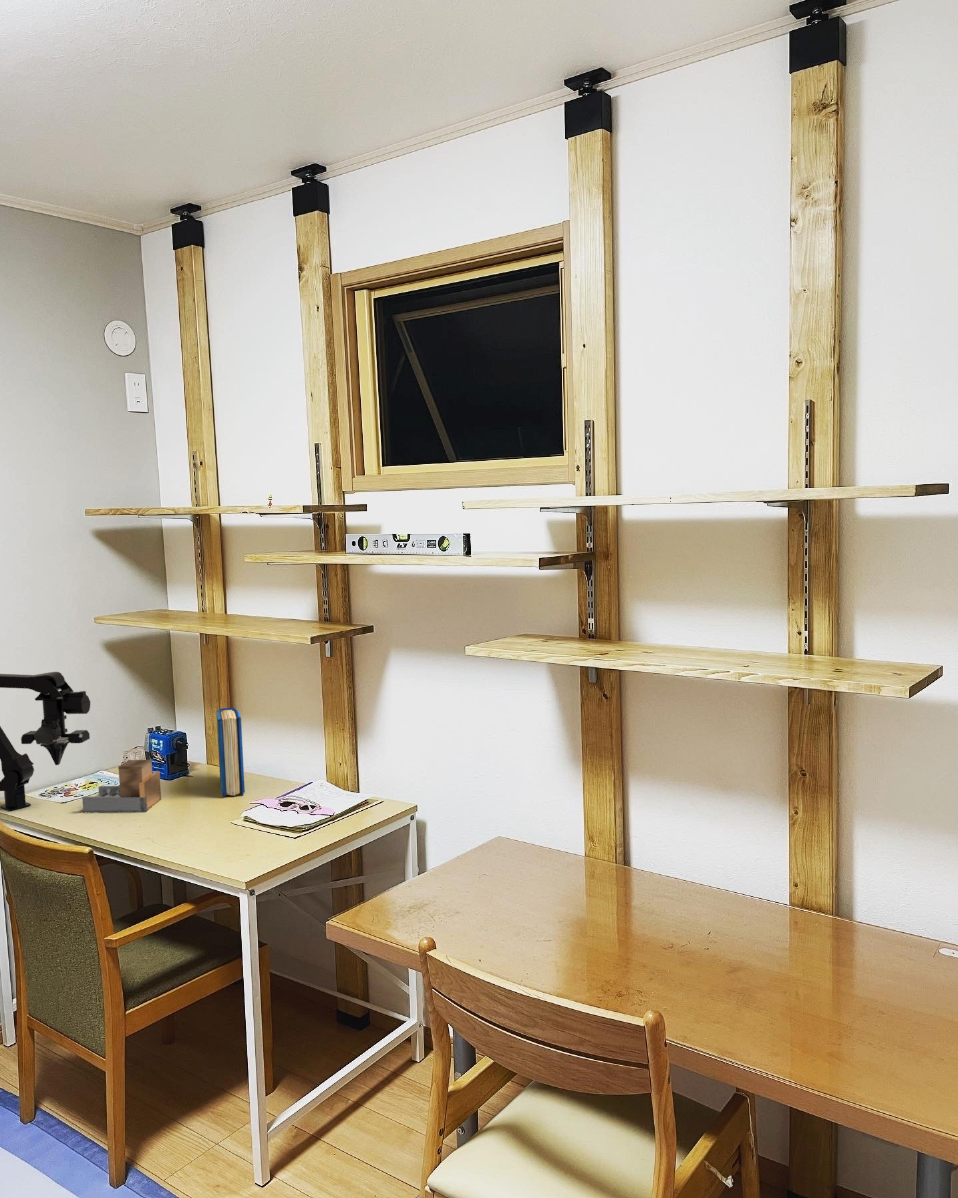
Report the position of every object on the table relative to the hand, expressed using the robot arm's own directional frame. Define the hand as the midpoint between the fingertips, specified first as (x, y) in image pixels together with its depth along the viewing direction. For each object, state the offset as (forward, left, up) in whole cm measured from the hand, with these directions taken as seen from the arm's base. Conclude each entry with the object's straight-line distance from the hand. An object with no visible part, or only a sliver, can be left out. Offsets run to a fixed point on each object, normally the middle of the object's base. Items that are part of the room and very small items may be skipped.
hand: (57, 764), depth 290 cm
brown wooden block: (+20, +14, -10) cm, 26 cm away
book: (+28, +42, -13) cm, 52 cm away
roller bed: (+16, +11, -13) cm, 23 cm away
